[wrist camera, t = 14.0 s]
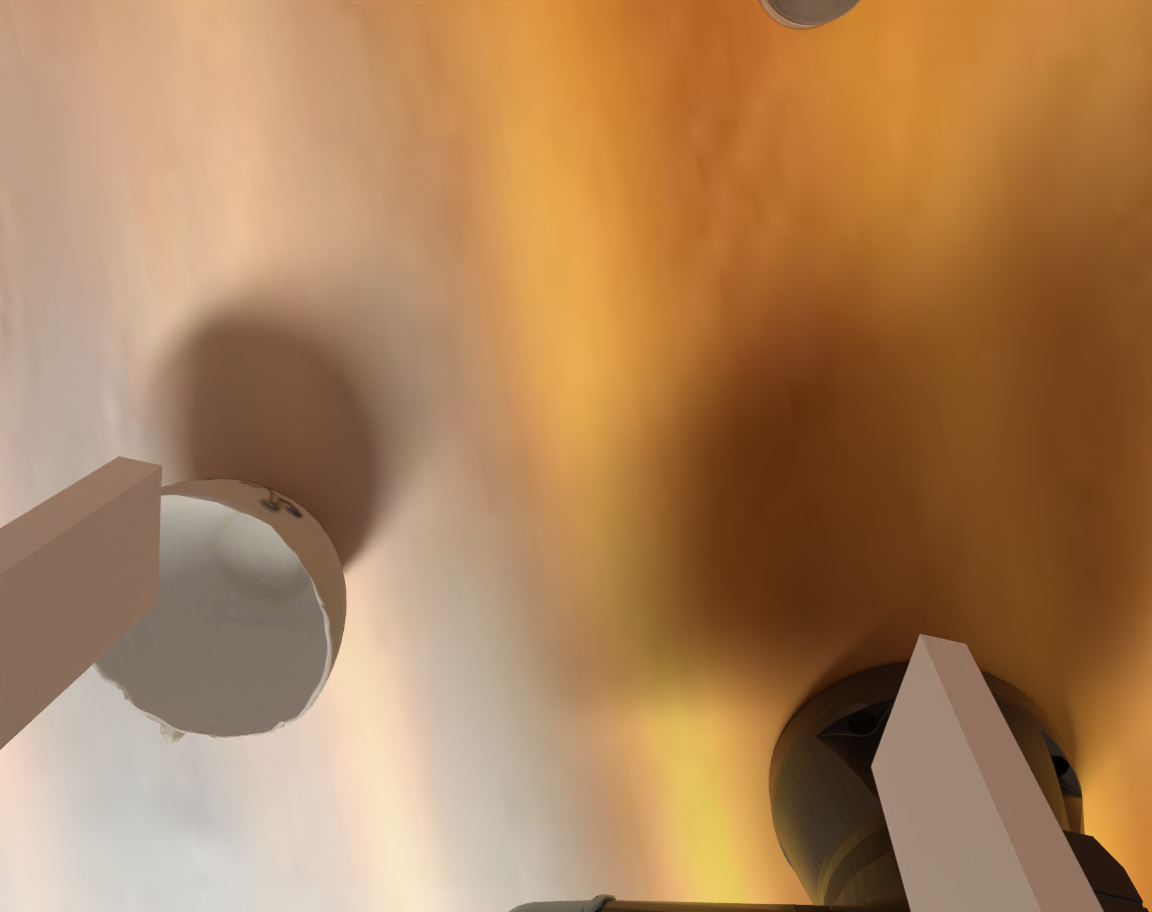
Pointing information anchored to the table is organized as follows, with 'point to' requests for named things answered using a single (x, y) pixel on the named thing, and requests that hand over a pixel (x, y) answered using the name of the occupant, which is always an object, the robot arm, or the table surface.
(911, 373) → the table surface
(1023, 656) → the table surface
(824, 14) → the short dowel
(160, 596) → the teacup
